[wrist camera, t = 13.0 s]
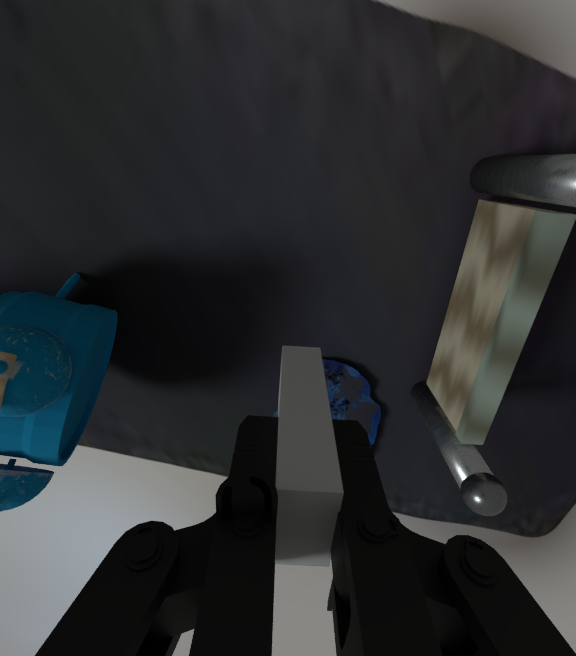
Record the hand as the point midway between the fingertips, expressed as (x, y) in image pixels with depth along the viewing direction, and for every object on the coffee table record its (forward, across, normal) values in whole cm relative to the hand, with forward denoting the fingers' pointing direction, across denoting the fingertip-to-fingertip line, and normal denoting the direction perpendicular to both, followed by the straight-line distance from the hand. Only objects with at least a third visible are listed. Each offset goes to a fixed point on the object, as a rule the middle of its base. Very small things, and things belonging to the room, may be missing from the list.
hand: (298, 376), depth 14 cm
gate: (+21, +18, -4) cm, 28 cm away
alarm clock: (+23, -22, -11) cm, 33 cm away
